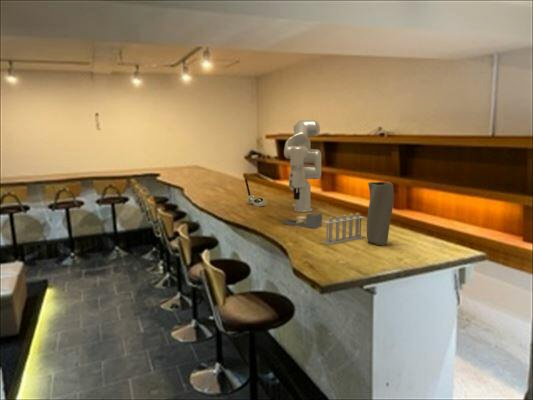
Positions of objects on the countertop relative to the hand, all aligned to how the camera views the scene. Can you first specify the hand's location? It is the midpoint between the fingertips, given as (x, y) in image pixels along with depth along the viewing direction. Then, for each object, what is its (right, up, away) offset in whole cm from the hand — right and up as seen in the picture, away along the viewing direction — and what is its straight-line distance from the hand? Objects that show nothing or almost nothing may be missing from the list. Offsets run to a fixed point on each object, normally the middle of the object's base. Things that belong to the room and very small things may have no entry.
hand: (296, 199), depth 242 cm
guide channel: (0, -15, +3) cm, 15 cm away
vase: (+38, -22, -38) cm, 58 cm away
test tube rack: (+22, -21, -32) cm, 44 cm away
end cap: (+9, -16, -3) cm, 19 cm away
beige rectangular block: (+6, -16, -1) cm, 17 cm away
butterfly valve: (-25, -5, +66) cm, 71 cm away
